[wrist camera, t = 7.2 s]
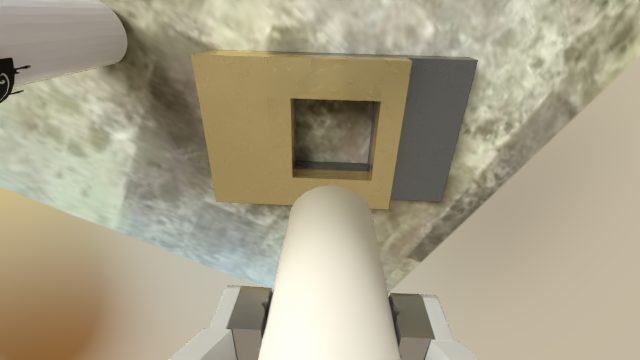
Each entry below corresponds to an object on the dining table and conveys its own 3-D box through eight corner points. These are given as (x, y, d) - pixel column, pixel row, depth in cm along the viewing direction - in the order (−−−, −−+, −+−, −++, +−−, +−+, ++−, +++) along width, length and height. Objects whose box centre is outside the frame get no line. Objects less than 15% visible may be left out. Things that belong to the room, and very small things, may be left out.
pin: (377, 187, 13) (440, 432, 6) (368, 255, 15) (405, 508, 7) (287, 184, 14) (225, 420, 6) (290, 251, 15) (245, 499, 8)
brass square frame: (469, 57, 23) (487, 63, 20) (435, 192, 29) (446, 211, 26) (208, 49, 23) (190, 54, 21) (227, 183, 29) (216, 201, 26)
